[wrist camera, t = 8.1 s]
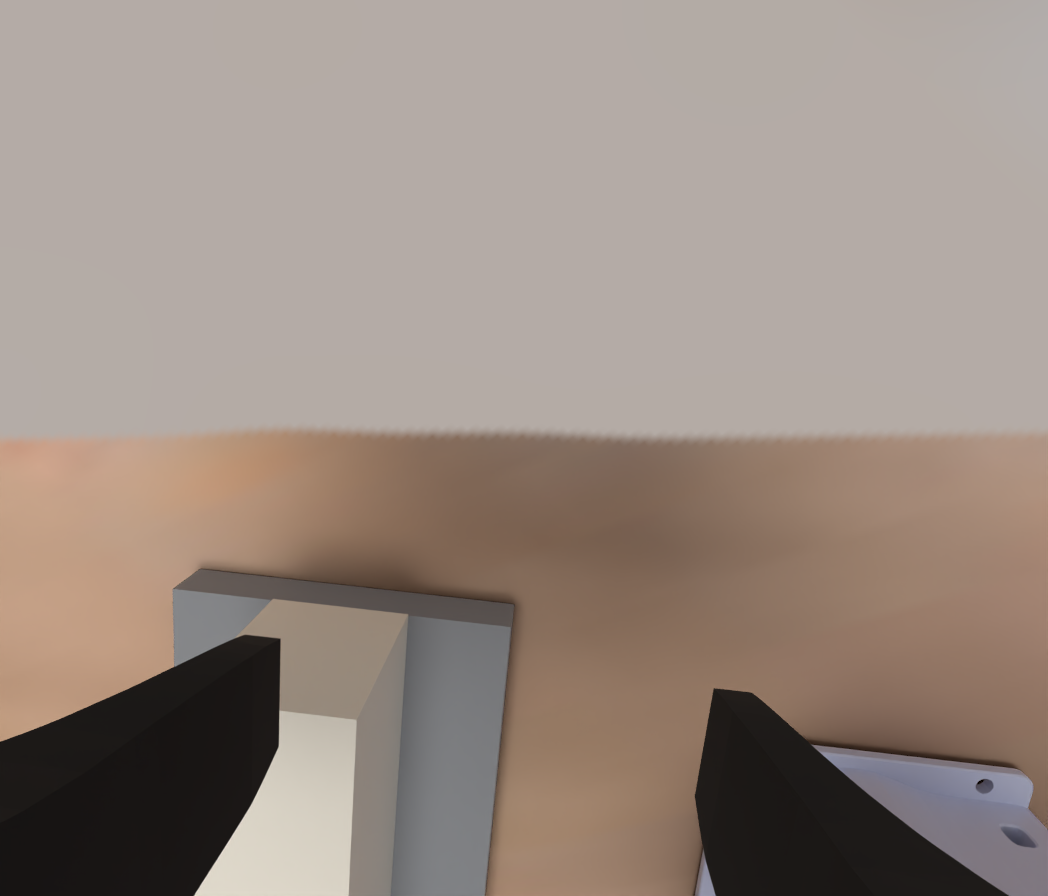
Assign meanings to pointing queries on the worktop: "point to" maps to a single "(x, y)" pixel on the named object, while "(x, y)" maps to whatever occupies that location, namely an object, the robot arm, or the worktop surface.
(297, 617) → the cream block
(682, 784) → the worktop surface
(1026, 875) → the robot arm
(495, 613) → the grey deck
